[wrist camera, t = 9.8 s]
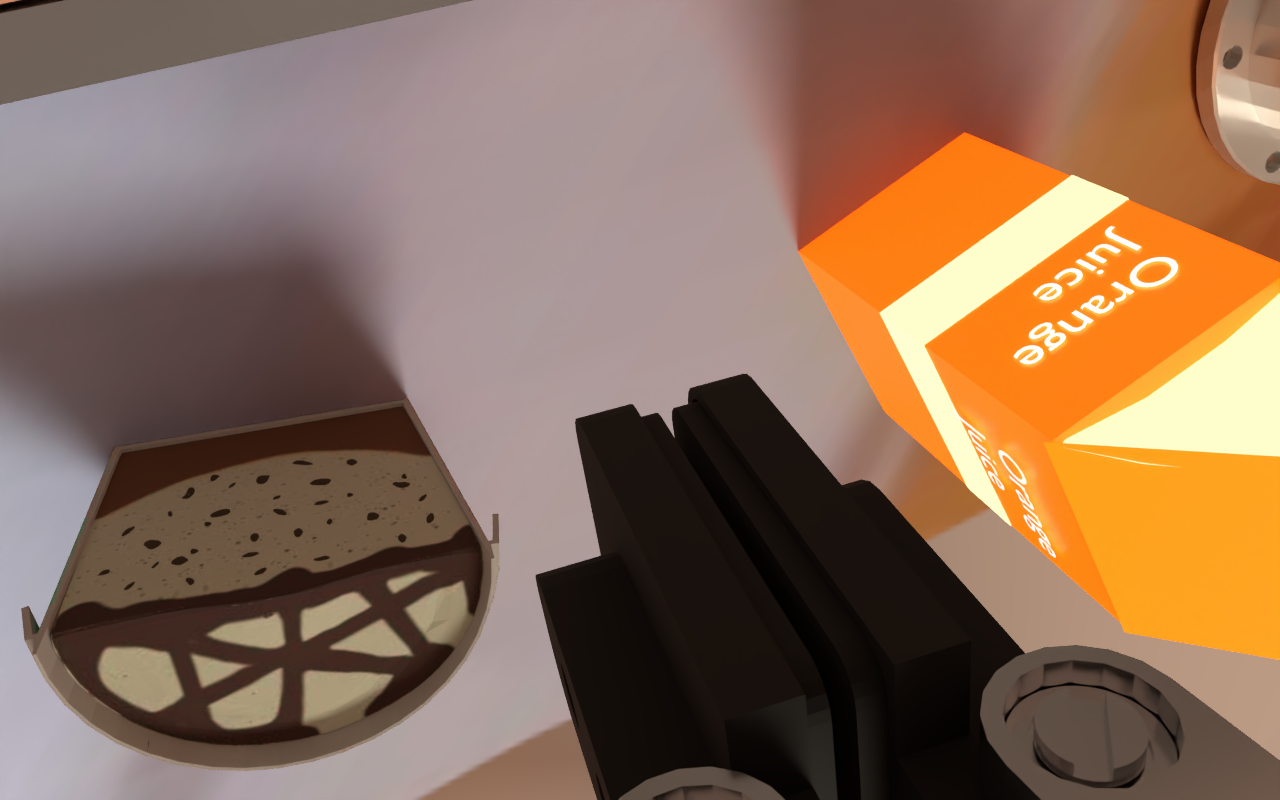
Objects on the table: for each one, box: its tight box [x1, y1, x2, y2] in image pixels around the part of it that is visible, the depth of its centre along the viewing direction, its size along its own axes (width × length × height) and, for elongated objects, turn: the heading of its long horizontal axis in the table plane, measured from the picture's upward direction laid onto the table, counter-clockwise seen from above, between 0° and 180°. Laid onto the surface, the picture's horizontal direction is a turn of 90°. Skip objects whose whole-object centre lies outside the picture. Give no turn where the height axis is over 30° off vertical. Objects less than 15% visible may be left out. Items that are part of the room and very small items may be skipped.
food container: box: [21, 399, 499, 771], centre depth 33 cm, size 12×6×10 cm, turn 91°
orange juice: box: [798, 132, 1280, 660], centre depth 33 cm, size 8×9×20 cm
